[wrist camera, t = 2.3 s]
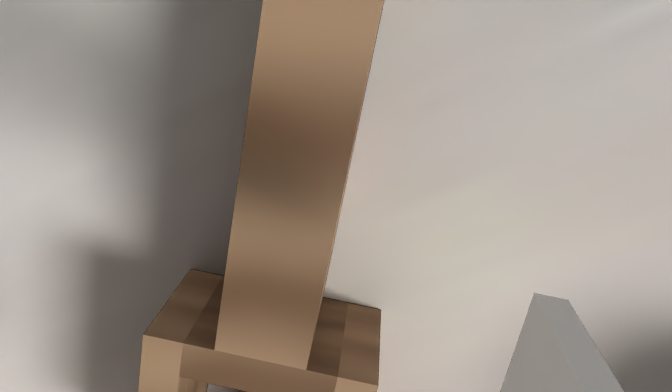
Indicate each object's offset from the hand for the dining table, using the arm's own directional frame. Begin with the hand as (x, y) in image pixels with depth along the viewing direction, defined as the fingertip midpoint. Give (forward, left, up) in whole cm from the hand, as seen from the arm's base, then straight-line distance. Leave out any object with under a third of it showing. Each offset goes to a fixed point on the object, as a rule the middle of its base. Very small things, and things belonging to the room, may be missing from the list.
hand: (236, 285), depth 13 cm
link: (+1, 0, -10) cm, 10 cm away
